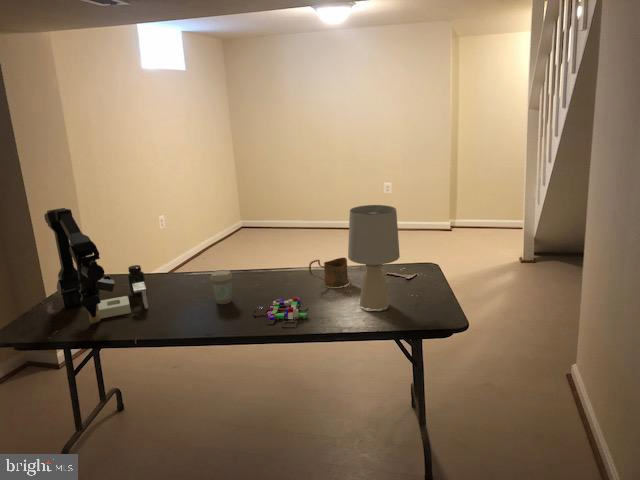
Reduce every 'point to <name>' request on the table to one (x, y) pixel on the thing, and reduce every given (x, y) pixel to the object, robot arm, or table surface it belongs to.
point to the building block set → (289, 312)
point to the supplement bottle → (135, 278)
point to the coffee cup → (222, 285)
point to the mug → (334, 272)
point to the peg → (95, 319)
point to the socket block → (114, 307)
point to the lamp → (373, 249)
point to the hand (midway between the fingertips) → (94, 315)
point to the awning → (141, 288)
